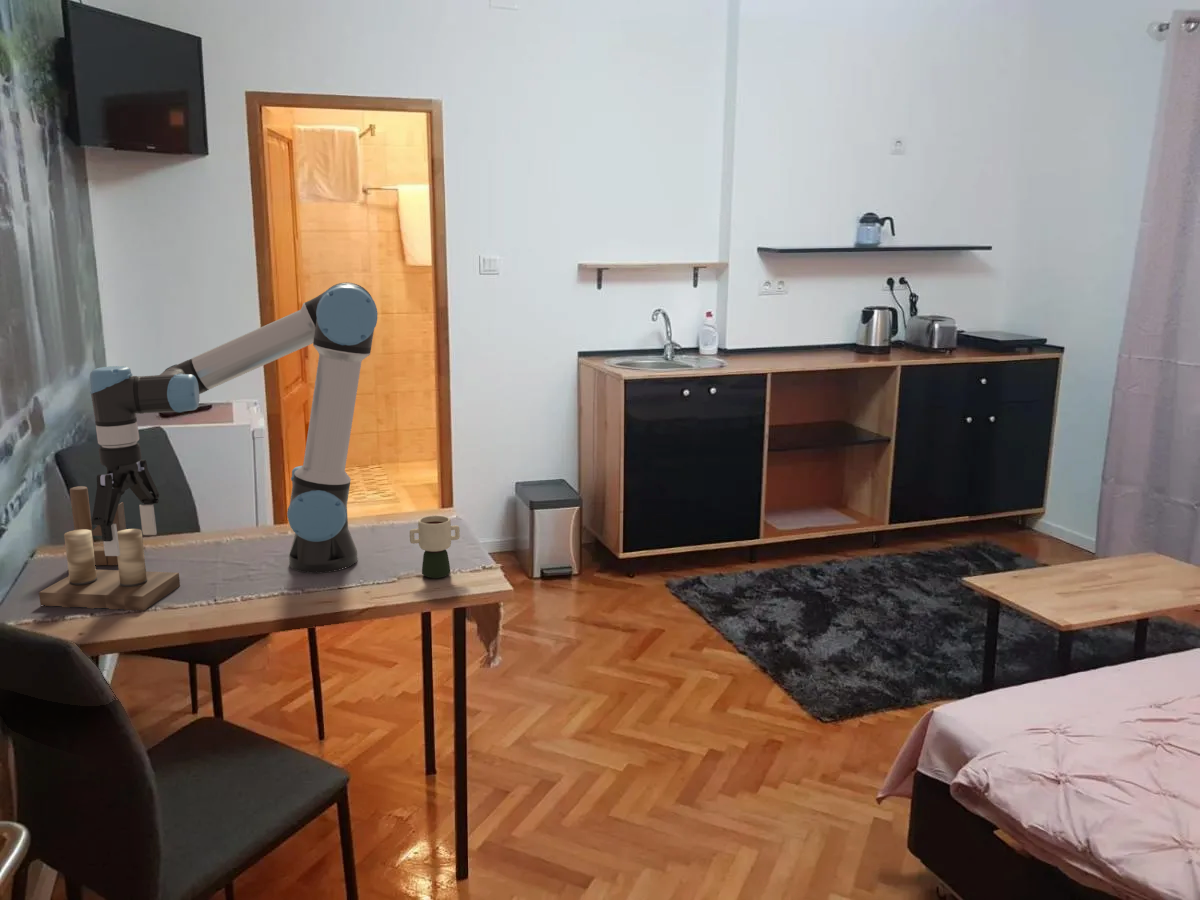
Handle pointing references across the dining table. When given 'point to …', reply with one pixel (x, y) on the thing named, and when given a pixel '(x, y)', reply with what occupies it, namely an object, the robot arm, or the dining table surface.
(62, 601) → the walnut board
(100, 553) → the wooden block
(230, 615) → the dining table surface
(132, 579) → the beech peg
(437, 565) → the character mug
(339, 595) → the dining table surface
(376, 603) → the dining table surface
